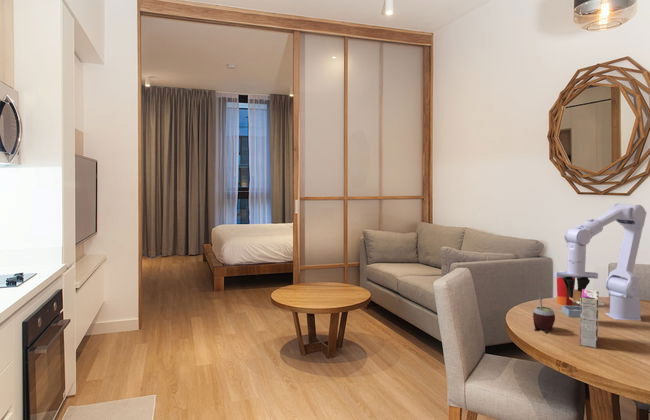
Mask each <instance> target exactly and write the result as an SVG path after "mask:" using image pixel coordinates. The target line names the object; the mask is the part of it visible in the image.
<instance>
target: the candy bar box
mask: <svg viewBox="0 0 650 420" xmlns="http://www.w3.org/2000/svg"><path fill="white" fill-rule="evenodd" d="M599 293H600V292H599V290H595V289H587V288H585V289H582V296H581V305H580V306H581V317H580V333H579V334H580V336H579V338H580V339H579V340H580V341H579V344H580V346H582V347H587V348H593V349H597V348H598V333H599V332H598V331H599V330H598V329H599V327H598V326H599V305H598V301H600V300H599V299H600V298H599Z"/></svg>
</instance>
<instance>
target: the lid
mask: <svg viewBox="0 0 650 420" xmlns="http://www.w3.org/2000/svg"><path fill="white" fill-rule="evenodd" d="M580 295H581V291H579V290H578V289H575V288H574V289H573V298H570V297H569V299H571V300H572V301H573V302H574V303H576V304H578V305H579V306H581V298H580V297H581V296H580ZM598 306H605V303H603V302H601V301H600V300H598Z"/></svg>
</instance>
